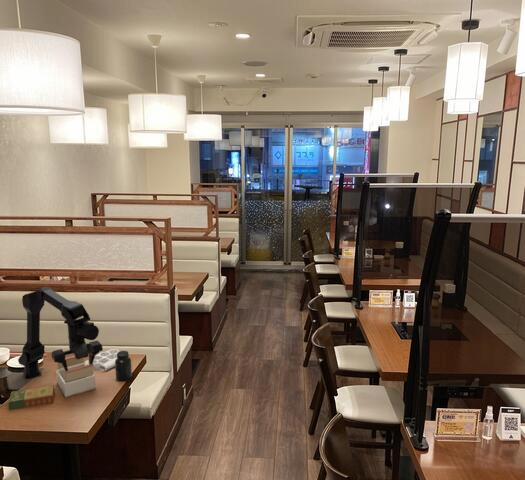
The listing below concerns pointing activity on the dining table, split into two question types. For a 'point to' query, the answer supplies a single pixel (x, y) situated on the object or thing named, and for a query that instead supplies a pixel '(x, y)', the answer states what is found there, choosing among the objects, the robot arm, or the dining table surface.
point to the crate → (75, 382)
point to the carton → (31, 397)
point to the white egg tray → (104, 360)
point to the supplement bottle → (123, 366)
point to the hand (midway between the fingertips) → (79, 370)
